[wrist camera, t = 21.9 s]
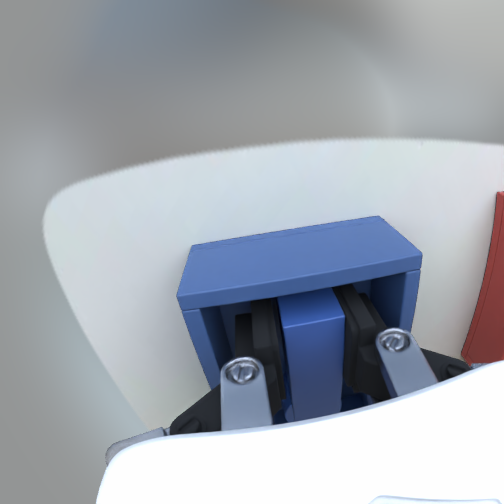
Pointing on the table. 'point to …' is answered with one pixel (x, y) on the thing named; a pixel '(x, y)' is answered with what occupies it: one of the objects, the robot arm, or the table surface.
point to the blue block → (312, 353)
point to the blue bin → (295, 283)
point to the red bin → (490, 302)
